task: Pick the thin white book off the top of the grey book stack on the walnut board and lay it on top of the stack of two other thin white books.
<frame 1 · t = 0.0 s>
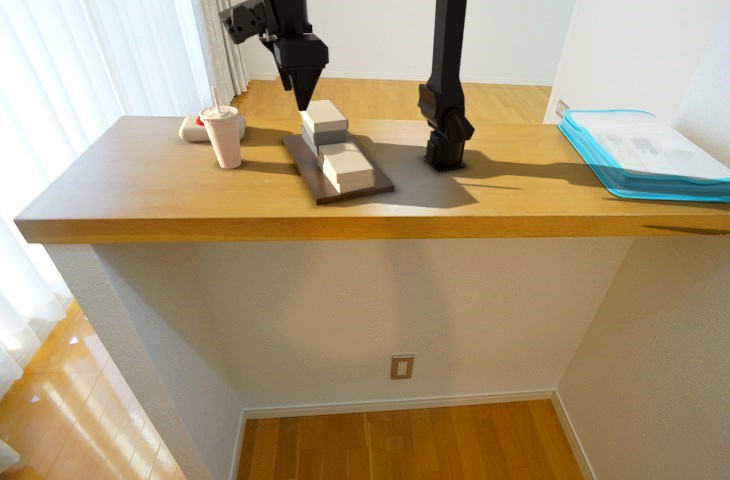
hand: (295, 100, 63), 15 cm above the table, tool pointing down, fingers open, 9 cm apart
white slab: (216, 134, 87), on the table
smoothie: (231, 164, 77), on the table
white book 3: (345, 166, 72), point 3 cm above the table, touching white book 2
white book: (322, 120, 79), point 6 cm above the table, touching grey book 2
walnut board: (333, 164, 79), on the table
grey book 2: (323, 133, 81), point 4 cm above the table, touching grey book 1, white book
white book 2: (345, 175, 74), point 1 cm above the table, touching walnut board, white book 3
grey book 1: (324, 145, 82), point 1 cm above the table, touching grey book 2, walnut board
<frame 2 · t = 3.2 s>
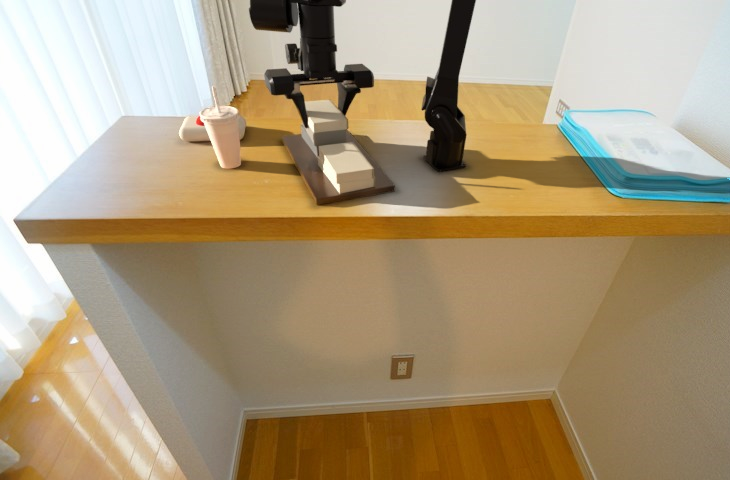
hand: (323, 125, 80), 5 cm above the table, tool pointing down, fingers closed on white book, 6 cm apart
white book: (322, 119, 79), point 6 cm above the table, touching grey book 2, gripper
everything else where it was.
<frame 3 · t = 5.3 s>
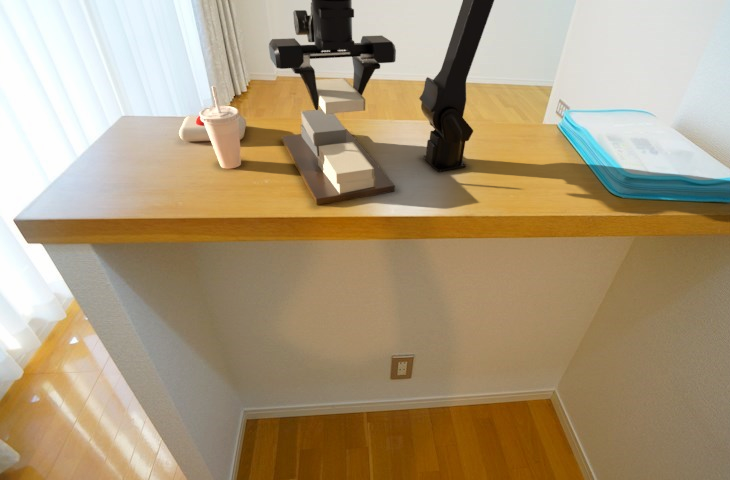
hand: (336, 107, 69), 12 cm above the table, tool pointing down, fingers closed on white book, 6 cm apart
white book: (335, 100, 69), point 13 cm above the table, touching gripper
grey book 2: (323, 133, 81), point 4 cm above the table, touching grey book 1
everything else where it was.
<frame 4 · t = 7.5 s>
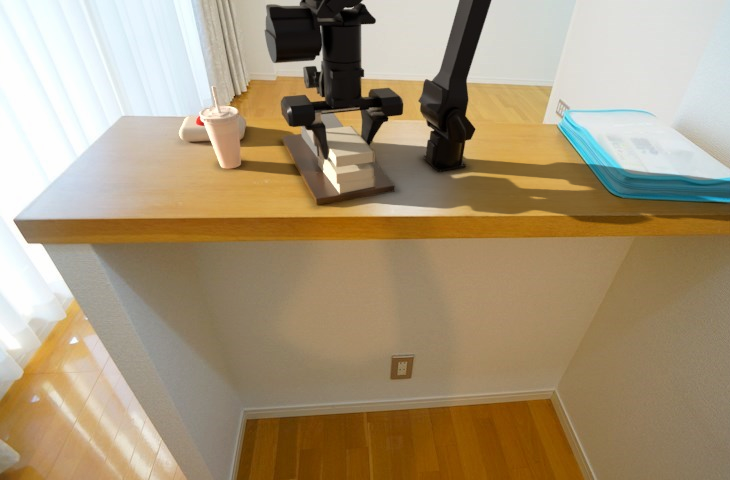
hand: (345, 156, 71), 5 cm above the table, tool pointing down, fingers closed on white book, 6 cm apart
white book: (344, 150, 71), point 6 cm above the table, touching gripper
everything else where it was.
when the fingers open (5 cm above the table, at t = 11.2 s): white book drops 1 cm, resting on white book 3.
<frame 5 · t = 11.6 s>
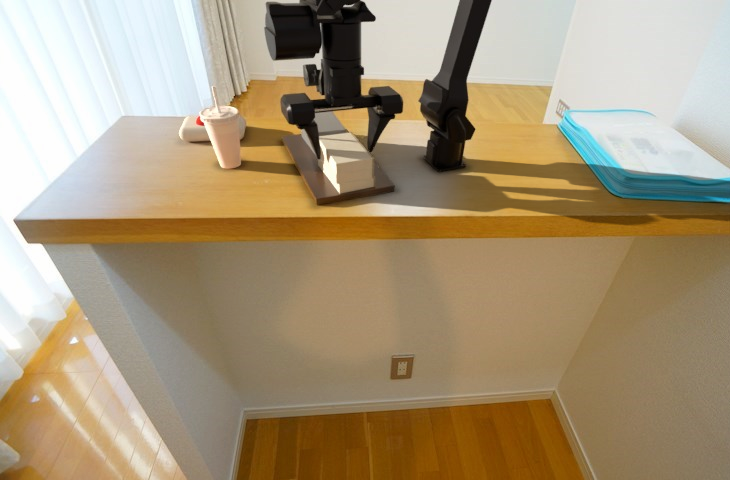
hand: (344, 154, 71), 5 cm above the table, tool pointing down, fingers open, 9 cm apart
white book 3: (345, 166, 72), point 3 cm above the table, touching white book, white book 2
white book: (344, 156, 71), point 5 cm above the table, touching white book 3
everything else where it was.
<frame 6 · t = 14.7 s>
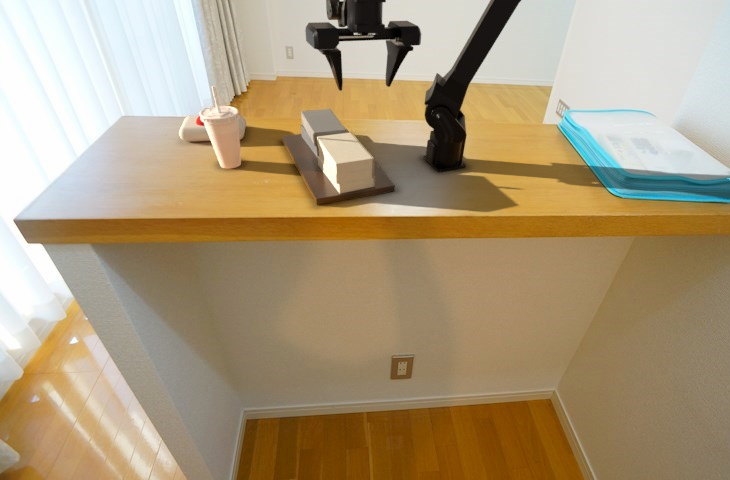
hand: (364, 87, 75), 13 cm above the table, tool pointing down, fingers open, 9 cm apart
nothing on the table moved.
at the end: white book 0.1 cm from the target spot, point 4.8 cm above the table; the gripper is holding nothing; grey book 2 moved 0.0 cm from its start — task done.
